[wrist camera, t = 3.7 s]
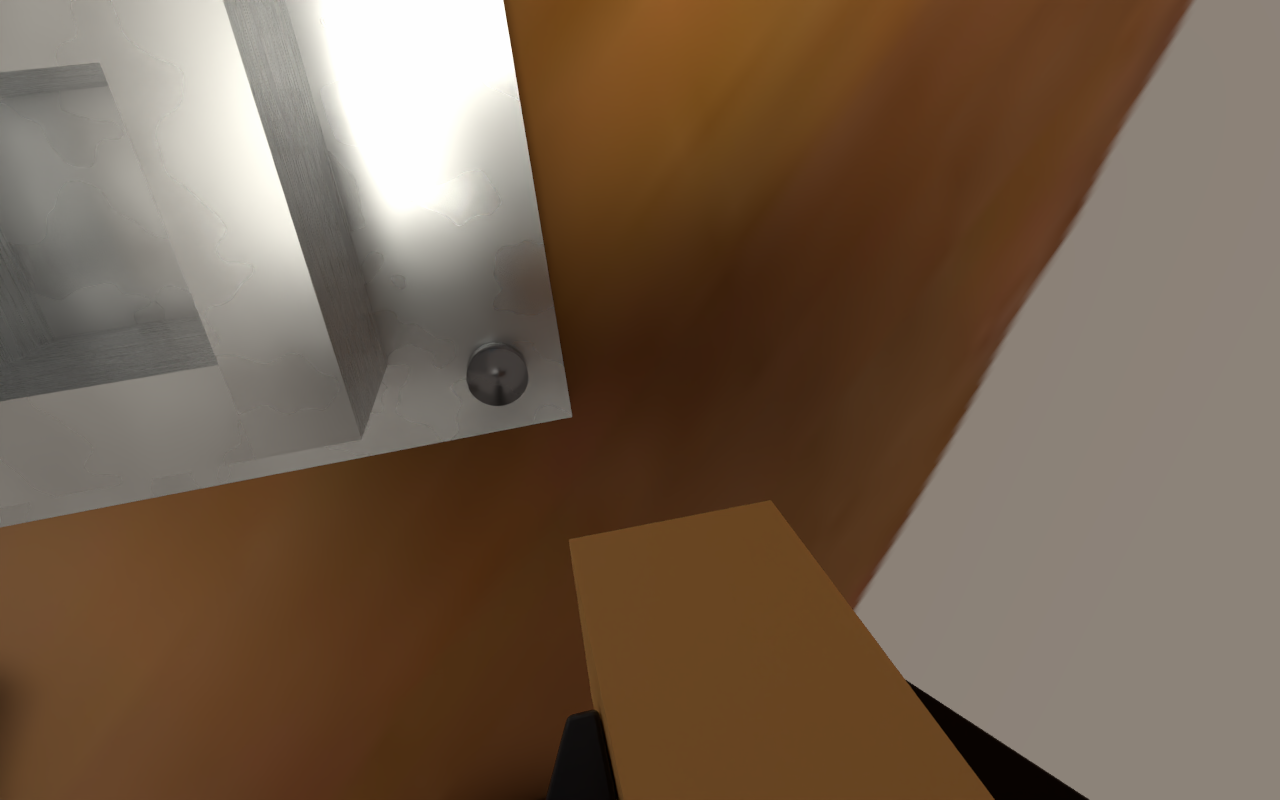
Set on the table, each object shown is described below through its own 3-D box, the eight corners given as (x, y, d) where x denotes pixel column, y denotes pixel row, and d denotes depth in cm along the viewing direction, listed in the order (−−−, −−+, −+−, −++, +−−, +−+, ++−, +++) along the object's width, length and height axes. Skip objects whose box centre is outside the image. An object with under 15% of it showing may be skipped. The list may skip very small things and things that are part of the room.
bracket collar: (568, 403, 20) (598, 497, 15) (-121, 534, 17) (-357, 701, 12) (469, -189, 14) (465, -344, 9) (-589, -136, 12) (-1377, -318, 7)
